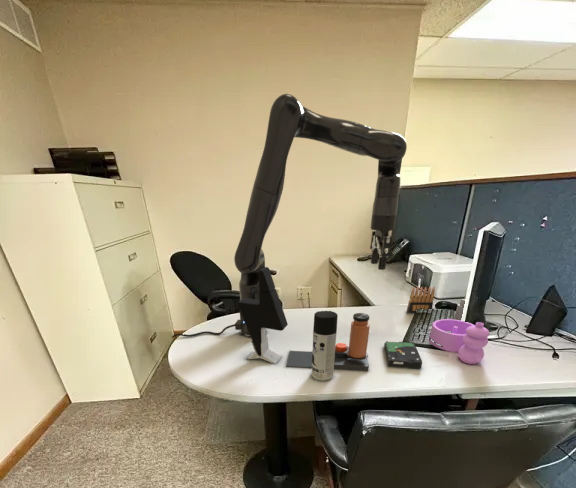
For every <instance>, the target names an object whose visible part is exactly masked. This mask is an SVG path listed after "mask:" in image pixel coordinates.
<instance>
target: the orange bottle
mask: <svg viewBox="0 0 576 488" xmlns="http://www.w3.org/2000/svg"><path fill="white" fill-rule="evenodd" d="M352 319H353V321H351V322H350V323H351V324H350V331H349V340H348V341H349V342H348V347H349V352H348V354H349V355H350V356H351V357H354V358H363V357H365V356H366V353H368V352H367V351H368V343H369V335H370V328H371V323H370V322H369V320H370V315H369V314H367V313H364V312H357V313H353V315H352Z"/></svg>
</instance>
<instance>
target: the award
mask: <svg viewBox="0 0 576 488" xmlns="http://www.w3.org/2000/svg"><path fill="white" fill-rule="evenodd" d="M259 291H260V292H259V300H256V299H248V298H243V299H242V300H240V299H239V301H238V302H237V303H236V304H237V307H238V310H239V313H240V312H241V315H242V317H243V319H244V322H245V324H246V327H247V329H248V332H249V334H250V336H251V337H250V339H251V341H250V343H251V345H252V349H253V350H254V351H253V352H252V353H251V354H250V355H249V356H248V357H247V358H246V360H255V359H262V360H264V361H266V362H268V363H271V364H274V365H276V364H277V363H278V362H279V360H280V359H281V358H282V356H281V355H279V354H277V353H276V352H274V351H273V350H272V349H270V347H269V337H268V336H267V329H268V330H273V331H274V330H275V331H280V332H282V331H284V330H285V328H286V327H287V326H288V321H287V317H286V314H285V312H284V308H283V305H282V303H281V299H280V297H279V294H278V291H277V288H276V285H275V283H274V279H273V276H272V273H271V270H270V267H268V266H265V268H263V269H261V270H259Z"/></svg>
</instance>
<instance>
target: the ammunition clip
mask: <svg viewBox="0 0 576 488" xmlns="http://www.w3.org/2000/svg"><path fill="white" fill-rule="evenodd" d="M431 287H432V286H429V287H428V288H427V286H425V287H424V288H423V286H420V289H419V286H417V287H416V289H415V286H413V287H412V288H411V292H410V295H409V301H408V304H407V307H406V313H407V314H417V313H416V310H417V309H420V308H422V309H432V310H433V307H434V299H435V291H436V289H435V286H433V287H432V288H431Z"/></svg>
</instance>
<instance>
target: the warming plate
mask: <svg viewBox="0 0 576 488" xmlns="http://www.w3.org/2000/svg"><path fill="white" fill-rule="evenodd" d="M348 352H349V351H348ZM348 352H347V353H346V355H347V357H348V358H350V359H353V360H364V359H366V358H367V359H368V357H369V354H368V352H366V356H365V357H363V358H354V357H351V356H350V355H349V354H348Z"/></svg>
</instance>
